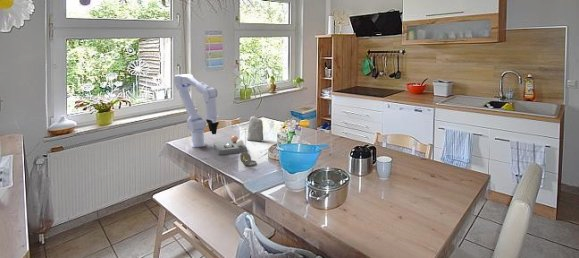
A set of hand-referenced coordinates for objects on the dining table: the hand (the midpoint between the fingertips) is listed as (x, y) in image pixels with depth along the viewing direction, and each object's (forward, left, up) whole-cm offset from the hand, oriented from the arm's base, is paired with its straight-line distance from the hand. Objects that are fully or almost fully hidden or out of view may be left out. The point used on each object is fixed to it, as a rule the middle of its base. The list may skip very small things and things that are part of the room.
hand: (212, 132), depth 215 cm
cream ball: (+7, +14, -6) cm, 17 cm away
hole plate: (+2, +9, -10) cm, 14 cm away
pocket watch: (+33, +12, -11) cm, 36 cm away
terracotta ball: (-3, +13, -6) cm, 14 cm away
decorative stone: (-10, +28, -11) cm, 32 cm away
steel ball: (+4, +8, -8) cm, 12 cm away
